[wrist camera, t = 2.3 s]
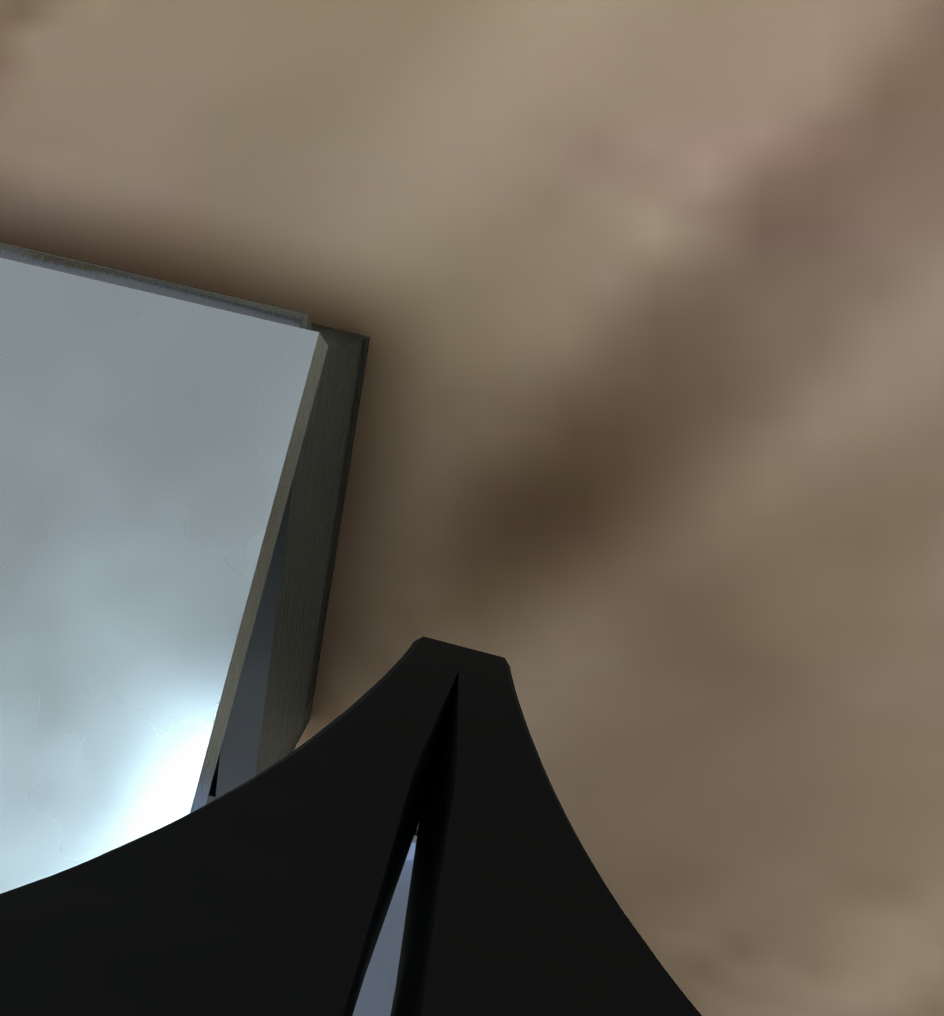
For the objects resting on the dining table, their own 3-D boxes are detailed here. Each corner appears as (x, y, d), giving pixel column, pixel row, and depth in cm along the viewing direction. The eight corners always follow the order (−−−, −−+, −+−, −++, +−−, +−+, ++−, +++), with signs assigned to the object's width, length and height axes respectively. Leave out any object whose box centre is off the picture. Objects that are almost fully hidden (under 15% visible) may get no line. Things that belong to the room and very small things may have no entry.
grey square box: (309, 720, 23) (247, 834, 19) (-81, 621, 24) (-237, 708, 19) (369, 337, 19) (308, 360, 14) (-113, 224, 19) (-328, 210, 14)
